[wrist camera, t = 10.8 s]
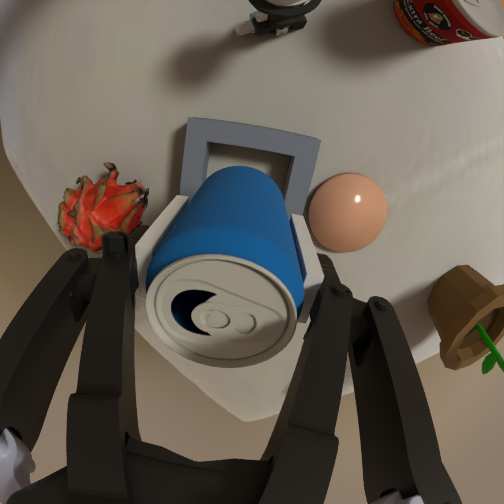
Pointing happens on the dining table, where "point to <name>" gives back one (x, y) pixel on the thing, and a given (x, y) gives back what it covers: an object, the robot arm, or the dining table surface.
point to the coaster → (347, 212)
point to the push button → (277, 16)
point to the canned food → (450, 20)
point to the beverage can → (227, 274)
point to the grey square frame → (252, 137)
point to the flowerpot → (468, 318)
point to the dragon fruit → (101, 209)
